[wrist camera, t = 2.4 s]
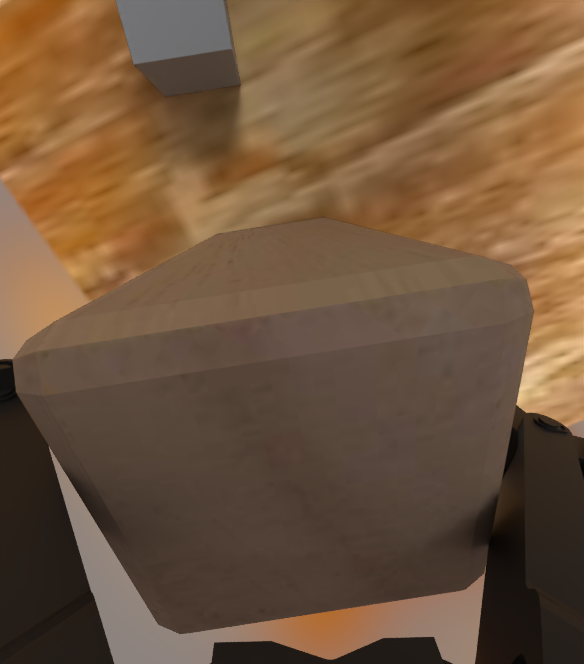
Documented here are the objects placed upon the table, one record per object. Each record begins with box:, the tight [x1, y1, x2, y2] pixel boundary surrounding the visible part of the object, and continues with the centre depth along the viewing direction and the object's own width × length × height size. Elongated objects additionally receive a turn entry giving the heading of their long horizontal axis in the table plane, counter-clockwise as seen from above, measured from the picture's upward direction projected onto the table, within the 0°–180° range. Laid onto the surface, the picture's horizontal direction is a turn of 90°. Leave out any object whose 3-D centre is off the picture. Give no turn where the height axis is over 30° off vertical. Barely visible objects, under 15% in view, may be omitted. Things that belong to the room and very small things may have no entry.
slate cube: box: [116, 0, 241, 97], centre depth 16 cm, size 5×5×5 cm
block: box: [13, 217, 534, 634], centre depth 16 cm, size 10×10×20 cm
